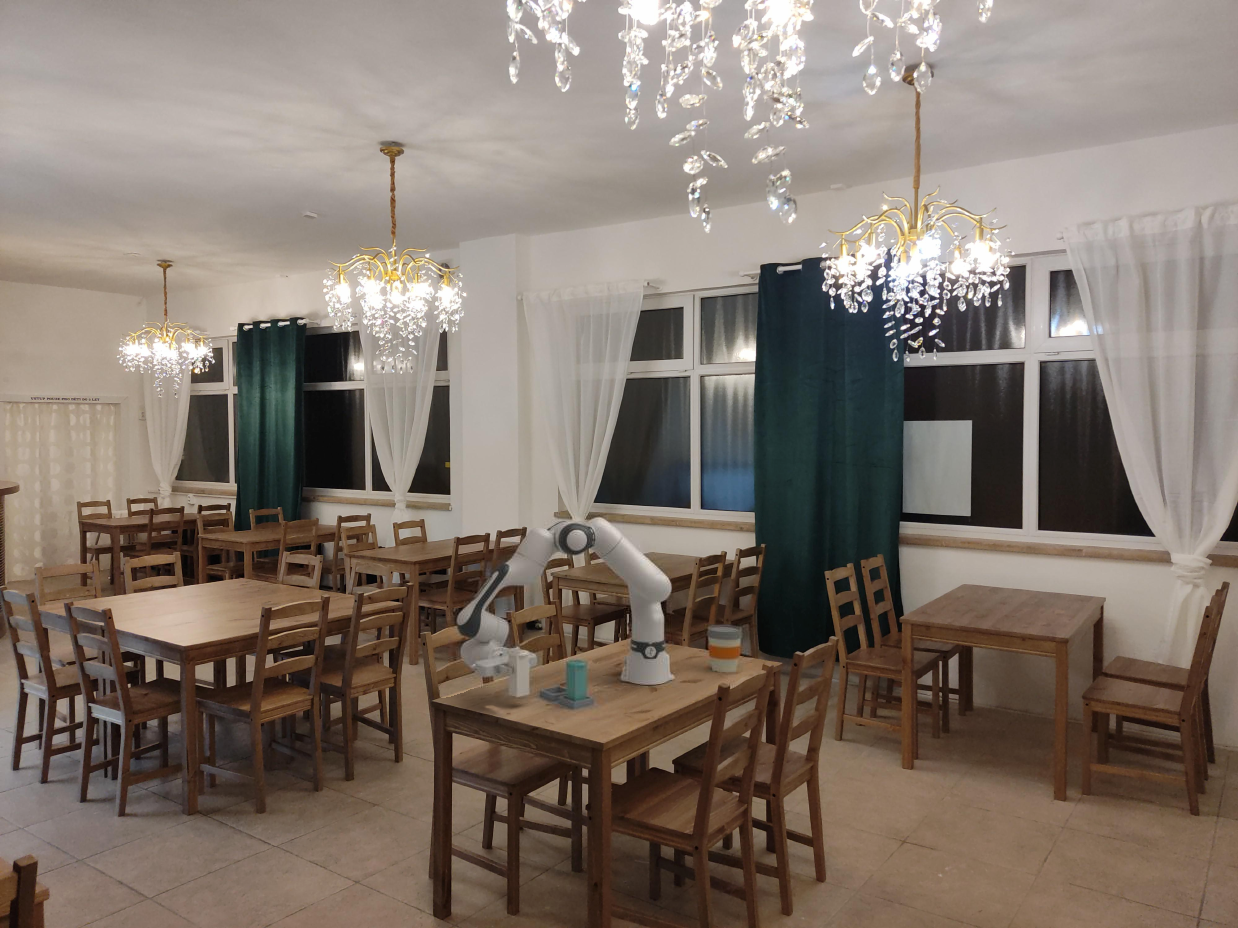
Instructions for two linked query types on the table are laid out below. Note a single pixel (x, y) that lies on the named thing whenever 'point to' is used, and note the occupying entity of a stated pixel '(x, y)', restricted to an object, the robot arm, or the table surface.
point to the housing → (564, 698)
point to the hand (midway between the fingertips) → (520, 669)
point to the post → (519, 673)
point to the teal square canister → (576, 680)
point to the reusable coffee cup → (724, 647)
